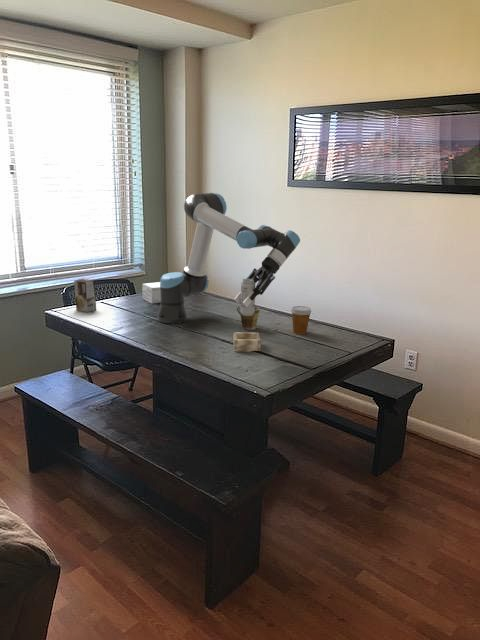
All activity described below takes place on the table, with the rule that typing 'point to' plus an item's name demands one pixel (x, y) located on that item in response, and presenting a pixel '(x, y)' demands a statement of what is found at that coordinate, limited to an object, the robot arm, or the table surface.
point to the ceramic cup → (249, 319)
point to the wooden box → (246, 341)
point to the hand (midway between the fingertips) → (240, 303)
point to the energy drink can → (246, 289)
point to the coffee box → (85, 295)
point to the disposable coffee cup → (300, 319)
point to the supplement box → (151, 292)
